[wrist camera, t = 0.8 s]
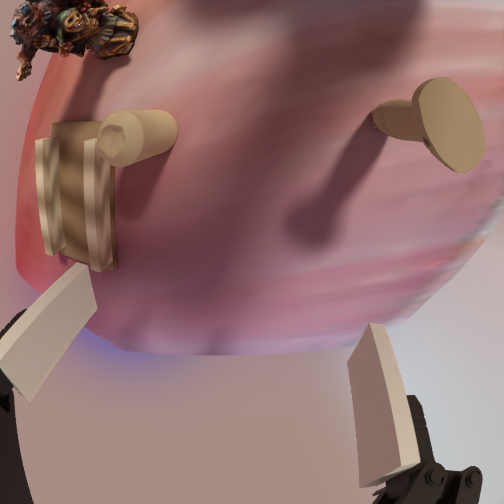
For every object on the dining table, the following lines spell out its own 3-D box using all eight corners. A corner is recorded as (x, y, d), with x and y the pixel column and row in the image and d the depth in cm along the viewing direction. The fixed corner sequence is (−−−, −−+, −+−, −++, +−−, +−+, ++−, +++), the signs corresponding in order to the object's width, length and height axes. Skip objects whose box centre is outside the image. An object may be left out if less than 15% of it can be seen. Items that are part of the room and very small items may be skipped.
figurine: (158, 60, 24) (44, 24, 8) (100, 86, 26) (-14, 85, 10) (151, -4, 20) (60, -56, 4) (95, 25, 22) (-2, 2, 6)
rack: (57, 122, 29) (36, 126, 24) (118, 121, 28) (96, 124, 24) (64, 250, 39) (48, 264, 35) (117, 267, 39) (102, 284, 35)
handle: (382, 152, 27) (452, 185, 14) (349, 106, 25) (405, 98, 12) (412, 131, 25) (493, 150, 12) (380, 85, 23) (452, 66, 10)
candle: (180, 151, 30) (138, 167, 21) (140, 155, 30) (91, 173, 22) (177, 106, 27) (133, 105, 18) (136, 113, 28) (85, 118, 19)
